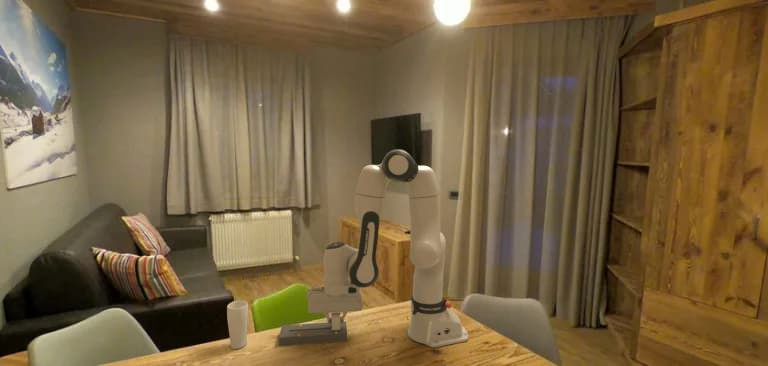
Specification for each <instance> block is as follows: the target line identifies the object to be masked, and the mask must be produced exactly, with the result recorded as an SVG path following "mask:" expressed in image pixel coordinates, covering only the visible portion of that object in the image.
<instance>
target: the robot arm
mask: <svg viewBox="0 0 768 366" xmlns="http://www.w3.org/2000/svg"><path fill="white" fill-rule="evenodd" d="M392 181H399V182H405V184H406V186H407V193H408V203H409V204H408V205H409V215H410V229H409V230H410V232H409V234H410V237H409V241H410V242H409V246H410V247H409V259H410V261H411V263H412V264H413V265H414V271H413V277H412V296H411V301H410V311H411V316H410V321H409V322H410V323H409V327H408V330H407V336H408V337H409V338H410V339H411V340H413V341H414V342H417V343H420V344H424V345H426V346H428V347H430V348H439V347H443V346H448V345H452V344H453V345H454V344H457V343H458V344H459V343H464V342H467V341H468V340H469V334H468V331H467V330H466V328H465V327H464V326H463V325H462V321H461V319H460V317H459V316H458V314H457V313H455V312H454V311H453V310H452V309H451V308H452V304H451V302H450V301H449V300H447V299H446V298H445V297H443V296H444V295H443V289H444V288H443V287H444V271H445V265H446V264H445V263H446V250H447V241H446V238H445V235H444V234H443V233H442V231H441V216H442V215H441V213H442V212H441V204H440V195H439V194H440V193H439V187H438V182H437V178H436V173H435V171H434V170H433V168H431V167H429V166H428V165H418V164H417V162H416V161H415V160H414V158H413V157H412V156H411V154H410V153H408V152H407V151H406V150H404V149H393V150H390V151H389V152H388V153H386V155H385V156H384V158H383V160H382V161H381V162H380V163H379V164H368V165H365V166H363V168H362V169H361V171H360V174H359V177H358V179H357V182H356V183H357V184H356V188H355V194H354V213H355V216H356V219H357V221H358V225H359V240H358V248H356V247H355V248H354V247H353V246H351V245H348V244H347V243H346V242H343V241H337V242H332V243H330V244H329V245H327V246H326V247H325V250H324V254H323V270H324V276H323V286H319V287H318V286H317V287H315V286H314V287H311V288H310V289H307V292H306V297H307V299H308V306H307V312H308V313H309V314H324V316H325V318H326V319H327V323H328V324H329V323H332V316H329V315H330V314H329V313H332V312H340V313H341V312H342V315H340V323H344V322H345V317H347V314H348V312H361V311H362V310H363V309H364V301H363V295H362V292H361V288H362V289H364V288H368V287H370V286H372V285H373V284H375V283H376V281H377V280H378V278H379V274H380V273H379V272H380V271H379V266H378V264H377V263H378V262H377V249H378V248H377V247H378V239H379V229H380V224H381V220H382V219H381V218H382V215H383V211H384V206H385V200H386V194H387V189H388V185H389V183H390V182H392Z"/></svg>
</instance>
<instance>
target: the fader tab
mask: <svg viewBox="0 0 768 366" xmlns="http://www.w3.org/2000/svg"><path fill="white" fill-rule="evenodd" d="M340 316H341V312H331V317H332V330H340Z"/></svg>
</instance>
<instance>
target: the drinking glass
mask: <svg viewBox="0 0 768 366" xmlns="http://www.w3.org/2000/svg"><path fill="white" fill-rule="evenodd" d="M226 313H227V314H226V316H227V317H226V318H227V319H226V320H227V327H228V333H229V345H230V348H231V349H234V350H240V349H242V348H244V347H246V345H247V341H248V339H247V337H248V321H249V303H248V301H245V300H235V301H232V302H229V304H227V306H226Z"/></svg>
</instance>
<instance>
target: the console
mask: <svg viewBox="0 0 768 366" xmlns="http://www.w3.org/2000/svg"><path fill="white" fill-rule="evenodd" d="M340 342H342V343H343V342H348V328H347V321H345V320H344V323H340V330H332V323H329V324H328V322H315V323H299V324H282V325H281V328H280V331H279V335H278V346H279V347H281V346H296V345H309V344H310V345H313V344H323V343H324V344H325V343H340Z"/></svg>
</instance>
